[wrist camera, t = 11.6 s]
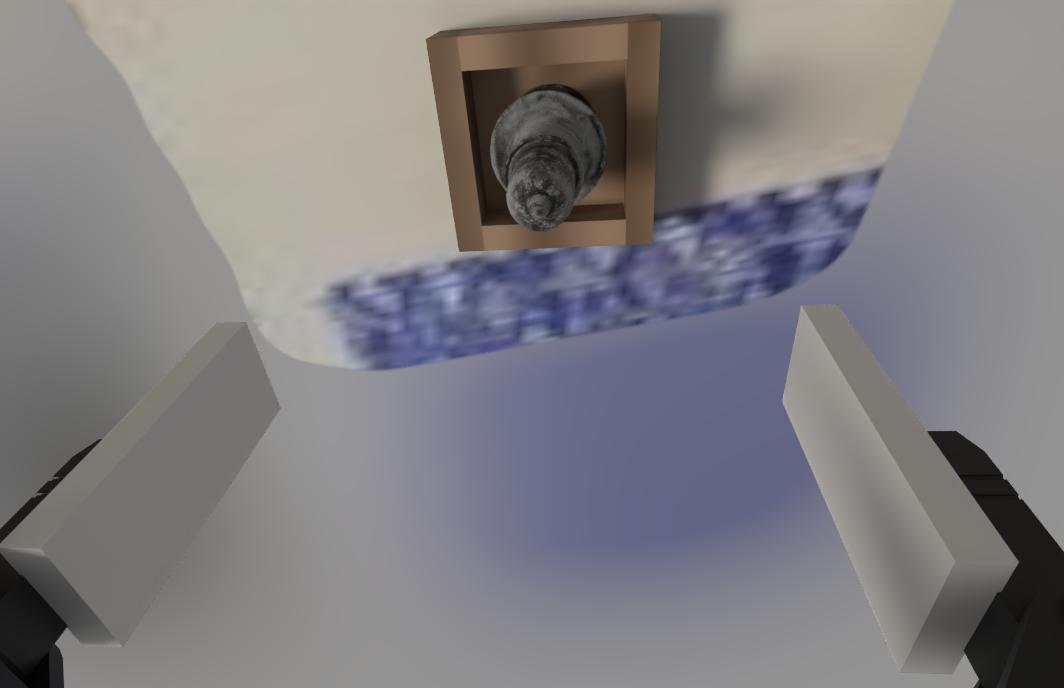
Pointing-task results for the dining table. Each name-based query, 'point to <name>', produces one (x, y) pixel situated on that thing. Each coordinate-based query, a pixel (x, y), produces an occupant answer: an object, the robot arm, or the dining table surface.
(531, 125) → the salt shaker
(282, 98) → the dining table surface
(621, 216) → the walnut holder
